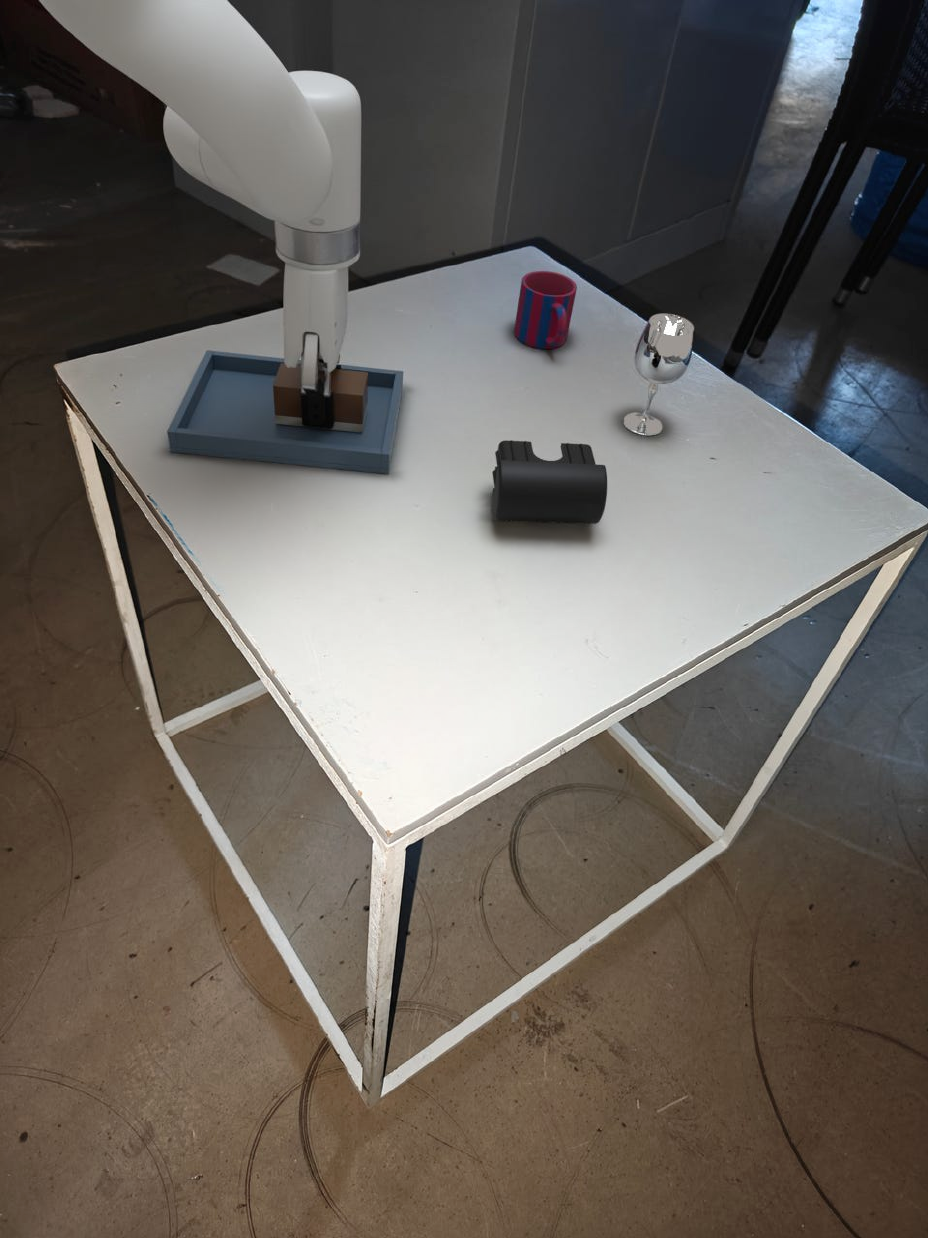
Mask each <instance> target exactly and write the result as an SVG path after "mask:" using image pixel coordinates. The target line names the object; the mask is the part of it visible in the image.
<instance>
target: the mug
mask: <svg viewBox="0 0 928 1238" xmlns="http://www.w3.org/2000/svg"><path fill="white" fill-rule="evenodd" d="M577 290H578V286H577V283H576V282H575V281H574V280H573V279H572V278H570V277H569V276H567V275H564V274H562V273H559V272H555V271H550V270H535V271H531V272H527V273H526V274H525V275H523V276H522V278H521V282H520V289H519V296H518V302H517V307H516V316H515V322H514V329H513V333H514V336H515V338H516V339H517V340H518V341H519V342H521V343H522V344H523V345H526V346H529V347H532V348H535V349H541V350H549V349H550V350H551V349H552V350H553V349H556V348H560V347H561V346H563V345H564V344H565V343H566V342H567V340H568V335H569V330H570V324H571V321H572V320H571V319H572V314H573V310H574V306H575V299H576V295H577Z"/></svg>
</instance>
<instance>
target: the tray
mask: <svg viewBox="0 0 928 1238" xmlns="http://www.w3.org/2000/svg"><path fill="white" fill-rule="evenodd" d="M281 363H284V357H273V356H265V355H255V354H247V353H246V354H245V353H236V352H227V351H220V350H219V351H218V350H210V349H209V350H208V349H207V350H205V353H204V355H203V357H202V359H201V361H200V362H199V365H198V367H197V369H196V371H195V373H194V375H193V378H192V380H191V381H190V383H189V386H188V387H187V390H186V391H185V394H184V396H183V398H182V400H181V401H180V404H179V405H178V408H177V410H176V412H175V414H174V417H173V418H172V420H171V422H170V425H169V426H168V429H167V431H166V433H167V438H168V444H169V451H170V452H171V453H178V454H187V455H188V454H189V455H198V456H208V457H218V458H227V459H228V458H229V459H236V460H237V459H238V460H247V461H248V460H249V461H258V462H267V463H277V464H287V465H295V466H305V467H316V468H325V469H326V468H327V469H335V470H336V469H337V470H344V471H345V470H346V471H355V472H364V473H375V474H384V475H385V474H386V475H389V474H390V468H391V461H392V455H393V450H394V443H395V437H396V432H397V427H398V426H397V425H398V420H399V414H400V407H401V401H402V396H403V388H404V370H395V369H387V368H386V369H385V368H376V367H369V366H368V367H367V366H358V365H350V364H349V365H348V364H340V363H339V364H338V363H337V365H341V370H349V371H358V372H367V373H368V408H367V414H366V419H365V423H364V428H363V432H362V433H358V432H349V431H340V430H331V429H321V428H312V427H303V426H293V425H284V424H276V423H275V410H274V396H273V384H274V381H275V378H276V376H277V373H278V370H279V367H280V365H281ZM297 365H301V359H299V361H298V364H297Z"/></svg>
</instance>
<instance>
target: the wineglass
mask: <svg viewBox="0 0 928 1238" xmlns="http://www.w3.org/2000/svg"><path fill="white" fill-rule="evenodd" d="M694 340H695V326H694V324H693V322H691V321H690V320H689V319H687V318H685V317H682V316H680V315H676V314H672V313H656V314H654V315H652V316H651V317H650V318H649V319H648V320H647V323H646V324H645V326H644V328H643V330H642V332H641V334H640V336H639V339H638V342H637V344H636V347H635V351H634V366H635V369H636V371H637V373H638V374H639V375H640V377H642V378H643V379H644V380H646V381H648V382H650V383H649V385H648V387H647V388H648V390H647V401H646V405H645V408H644V411H643V412H641V411H639V412H637V411H635V412H630V413H628V414H626V415H625V416H624V417H623V420H622V422H623V425H624V427H625V428H626V429H627V430H629V431H630V432H632V433H634V434H637V435H640V436H645V437H646V436H647V437H650V436H651V437H652V436H656V435H658V434H660V433H661V432H663V431H662V430H663V423H662V421H661V420H660V419H658V418H657V417H656V416H654V415H652V414H650V413H649V412H650V408H651V405H652V401H653V399H654V397H655V396H656V394H657V392H658V390H659V385H667V384H671V383H674V382H676V381H678V380H680V378H681V377H683V375H684V374H685V373H686V371H687V369H688V367H689V366H690V363H691V360H692V355H693V349H694V343H695V342H694Z"/></svg>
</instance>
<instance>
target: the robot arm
mask: <svg viewBox="0 0 928 1238" xmlns="http://www.w3.org/2000/svg"><path fill="white" fill-rule="evenodd" d="M38 1H39V3H41V5H42V6H43V7H44V9H46V11H47V12H48V13H49V14H50V15H51V16H52V17H53V18H54V19H55V20H56V21H57V22H58V23H59V24H60V25H61V26H62V27H63V28H64V29H66V30H67V31H68V32H69V33H71V35H73V36H74V37H75V38H76V39H77V40H78V41H80V42H81V43H82V44H83V45H84V46H85V47H87V49H89V50H90V51H91V52H92V53H93V54H95V55H96V56H98V57H99V58H101V59H102V60H103V61H105V62H106V63H107V64H109V65H111V66H112V67H113V68H115V69H116V70H118V71H119V72H121V73H122V74H124V75H126V76H127V77H128V78H130V80H133V81H134V82H135V83H137V84H138V85H140V86H141V87H143V88H144V89H145V90H147V91H148V92H150V93H151V94H152V95H154V96H155V97H156V98H158V99H159V101H161V102H162V103H164V105H166V108H165V111H164V115H163V123H162V124H163V125H162V126H163V136H164V140H165V143H166V146H167V148H168V151H169V153H170V154H171V156H172V157H173V159H174V161H175V162H176V163H177V164H178V166H179V167H180V168H182V169H183V171H185V172H186V173H187V174H189V175H190V176H192V177H193V178H194V179H196V180H197V181H199V182H201V183H203V184H204V185H205V186H206V185H207V186H208V187H209V188H211V189H213V190H215V191H217V192H218V193H221V194H222V195H224V196H226V197H228V198H230V199H232V200H234V201H236V202H237V203H239V204H241V205H243V206H245V207H246V208H248V209H250V210H251V211H253V212H255V213H257V214H259V215H261V216H262V217H264V218H266V219H268V220H271V221H273V223H274V227H273V228H274V241H275V254H276V256H277V257H278V258H279V259H280V260H281V261H282V262H284V272H283V273H284V274H283V302H282V303H283V306H282V307H283V309H282V311H283V314H282V315H283V358H284V363H285V365H286V366H287V367H288V368H296V366H297V364H298V361H299V360H301V411H302V424H303V425H304V426H308V427H317V428H326V429H332V428H333V426H334V392H331V371H333V370H334V369H340V370H341V365H342V364H340V362H341V361H340V360H341V352H342V348H343V344H344V340H345V336H346V334H347V333H346V332H347V327H348V326H347V325H348V314H349V267H350V266H352V265H354V264H355V263H356V262H358V261H359V259H360V257H361V197H362V195H361V194H362V193H361V191H362V189H361V188H362V187H361V185H362V184H361V182H362V103H361V102H362V101H361V97H360V94H359V92H358V89H356V87H355V85H354V84H353V83H351V82H350V81H349V80H348V79H347V78H344V77H341V76H339V75H336V74H334V73H330V72H324V71H318V70H316V71H315V70H295V71H288V70H287V69H286V67H285V65H284V64H283V63H282V61H281V60H280V59H279V57H278V56H277V55H276V54H275V52H274V51H273V49H272V48H271V47H270V45H268V44H267V42H266V41H265V40H264V39H263V38H262V37H261V35H260V34H259V33H258V31H256V29H255V28H254V27H253V26H252V25H251V24H250V23H249V22H248V21H247V20H246V19H245V17H244V16H243V15H242V14H241V13H240V12H239V11H238V9H236V8H235V7H234V6H233V5H232V4H231V3H230V2H229V0H38ZM337 364H340V365H337ZM318 372H323V373H324V383H323V381H322V379H319V378H318Z"/></svg>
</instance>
